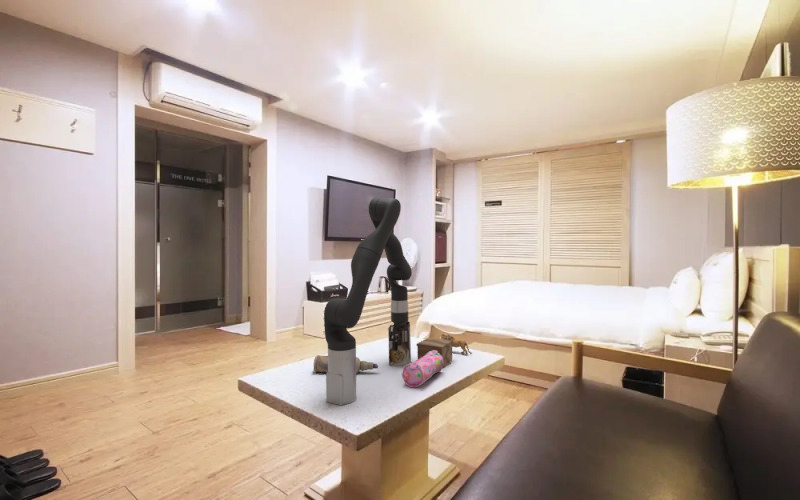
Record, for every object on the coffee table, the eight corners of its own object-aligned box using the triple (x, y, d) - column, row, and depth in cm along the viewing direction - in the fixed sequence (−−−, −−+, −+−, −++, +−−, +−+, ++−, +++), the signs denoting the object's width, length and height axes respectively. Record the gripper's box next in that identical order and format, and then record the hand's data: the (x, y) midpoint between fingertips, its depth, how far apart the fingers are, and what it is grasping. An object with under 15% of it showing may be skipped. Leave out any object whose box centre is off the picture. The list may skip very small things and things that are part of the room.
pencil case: (425, 369, 153) (425, 347, 153) (446, 372, 149) (445, 350, 148) (400, 386, 134) (399, 361, 134) (422, 391, 130) (422, 365, 130)
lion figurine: (439, 353, 174) (439, 334, 174) (442, 350, 179) (442, 331, 179) (471, 356, 169) (471, 336, 169) (473, 353, 174) (472, 334, 174)
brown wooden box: (442, 369, 152) (441, 347, 152) (416, 364, 158) (416, 343, 158) (453, 360, 163) (453, 340, 163) (429, 357, 169) (428, 337, 169)
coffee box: (411, 361, 162) (410, 324, 162) (409, 366, 156) (409, 328, 156) (390, 361, 163) (390, 324, 163) (388, 365, 157) (388, 327, 157)
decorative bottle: (312, 375, 147) (311, 358, 147) (318, 369, 155) (318, 352, 154) (376, 377, 144) (375, 360, 143) (379, 371, 151) (379, 354, 151)
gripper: (399, 314, 151) (399, 353, 152) (414, 308, 164) (415, 345, 164) (383, 312, 155) (383, 351, 155) (400, 307, 167) (400, 343, 168)
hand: (400, 348), depth 160 cm, fingers open, 8 cm apart
